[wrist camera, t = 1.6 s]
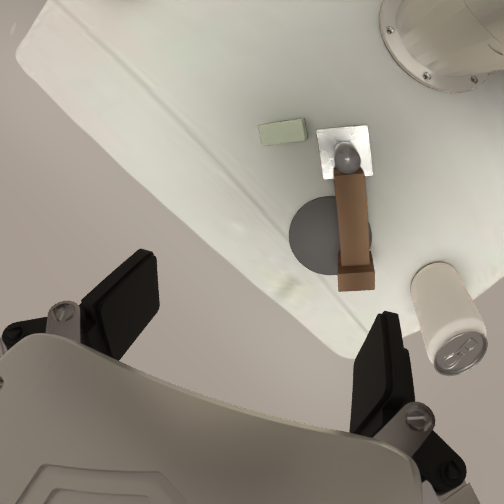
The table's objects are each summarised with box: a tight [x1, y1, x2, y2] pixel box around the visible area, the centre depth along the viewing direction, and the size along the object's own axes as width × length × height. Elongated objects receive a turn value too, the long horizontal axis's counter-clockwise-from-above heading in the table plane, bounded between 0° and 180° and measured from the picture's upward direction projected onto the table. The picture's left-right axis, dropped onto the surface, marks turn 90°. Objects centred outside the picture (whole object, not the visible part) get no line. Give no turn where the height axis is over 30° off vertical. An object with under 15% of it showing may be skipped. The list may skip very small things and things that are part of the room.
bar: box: [333, 167, 375, 292], centre depth 28 cm, size 4×11×4 cm, turn 11°
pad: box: [289, 197, 372, 275], centre depth 32 cm, size 9×9×1 cm
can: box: [411, 263, 488, 376], centre depth 26 cm, size 6×6×12 cm
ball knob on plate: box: [316, 125, 373, 179], centre depth 25 cm, size 5×5×6 cm
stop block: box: [258, 118, 308, 146], centre depth 27 cm, size 4×2×3 cm, turn 101°
